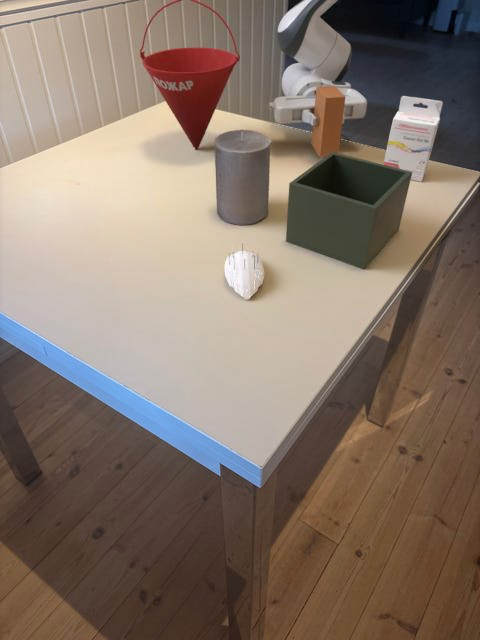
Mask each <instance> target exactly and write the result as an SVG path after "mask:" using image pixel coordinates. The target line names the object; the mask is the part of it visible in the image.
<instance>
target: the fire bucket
mask: <svg viewBox="0 0 480 640" xmlns="http://www.w3.org/2000/svg"><path fill="white" fill-rule="evenodd" d="M182 1H183V0H174V1H171V2H169V3H167V4H165V5H163V6H162V7H161V8H160V9H158V10H157V11H156V12H155V13H154V14H153V16H152V17H151V18H150V20H149V21H148V23H147V26H146V28H145V31H144V33H143V39H142V44H141V45H142V46H141V48H140V50H139V56H140V58H141V60H142V62H141V64H142V65H143V67H144V68H145V70H146V71H147V73H148V75H149V76H150V79H152V81H153V83H154V84H155V86H156V88H157V90H158V91H159V93H160V95H161V96H162V97H163V100H164V101H165V102H166V104H167V106H168V108H169V109H170V111H171V112H172V114H173V116H174V117H175V119H176V121H177V122H178V124H179V126H180V127H181V129H182V131H183V132H184V134H185V135H186V137H187V139H188V141H189V142H190V144H191V145H192V147H193V148H194V149H195V150H198V149H199V147H200V145H201V143H202V142H203V139H204V136H205V134H206V132H207V130H208V128H209V125H210V123H211V120H212V118H213V116H214V113H215V111H216V109H217V107H218V105H219V103H220V100H221V97H222V95H223V93H224V90H225V88H226V86H227V84H228V81H229V79H230V77H231V74H232V72H233V70H234V68H235V66H236V64H237V63H238V62H240V60H241V56H240V53H239V52H238V49H237V45H236V41H235V39H234V35H233V33H232V31H231V29H230V27H229V26H228V24H227V22H226V20H224V18H223V17H222V16H221V15H220V14H219V13H218V12H217V11H216V10H214V9H213V8H212V7H210V6H209V5H207V4H205V3H203V2H200V1H198V0H190V1H191V2H194V3H196V4H198V5H200V6H203V7H205V8H206V9H208V10H209V11H211V12H212V13H214V14H216V16H217V17H218V18H219V19H220V20H221V21H222V22H223V24H224V25H225V27H226V29H227V31H228V32H229V34H230V38H231V40H232V43H233V46H234V50H235V53H236V55H237V56H236V55H235V54H234V53H232V52H231V51H227V50H223V49H219V48H212V47H198V46H197V47H194V46H193V47H179V48H171V49H165V50H161V51H157V52H153V53H150V54H148V55H146V56H145V53H146V51H143V50H144V47H145V41H146V36H147V33H148V30H149V27H150V25H151V23H152V22H153V20H154V18H155V17H156V16H157V15H158V14H159V13H160V12H162V11H163V10H164V9H165V8H167V7H169V6H171V5H174V4H177V3H179V2H182Z"/></svg>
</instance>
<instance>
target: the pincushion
mask: <svg viewBox="0 0 480 640" xmlns="http://www.w3.org/2000/svg"><path fill="white" fill-rule="evenodd" d="M241 245H242V250H238V251H236V252H235V253H232V254H229V255H228V256H227V257H226V259H225V262H224V266H223V267H224V277H225V278H226V282H227V283H228V286H229V287H231V288H233V289H234V291H235V293H237V294H238V295H240V296H241V297H242V298H243V299H244V300H250V299H251V297H253V295H254V294H255V293H256V292H258V290H259V287H261V285H262V286H263V284H264V283H263V282H264V276H265V267H264V264H263V261H262V259H261V257H259V255H258V254H255V253H254V252H248V251H246V250H244V246H243V245H244V243H242V244H241Z"/></svg>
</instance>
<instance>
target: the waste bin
mask: <svg viewBox="0 0 480 640" xmlns="http://www.w3.org/2000/svg"><path fill="white" fill-rule="evenodd" d="M411 176H412V172H410V171H406V170H402V169H398V168H394V167H391V166H387V165H384V163H383V164H382V163H379V162H374V161H370V160H368V159H367V160H366V159H362V158H359V157H354V156H351V155H347V154H342V153H339V152H338V153H335V152H331V153H330V154H328V155H327V156H326V157H322V158H321V159H320V160H319V161H317V162H316V163H315V164H313V165H311V167H309V168H308V169H307V170H305V171H304V172H303V173H301V174H299V175H298V176H297V177H296V178H294V179H293V180H292V181H290V182H289V183H288V202H287V214H286V215H287V217H286V218H287V219H286V233H285V242H287V243H289V244H292V245H295V246H298V247H300V248H303V249H306V250H309V251H311V252H315V253H318V254H320V255H322V256H326V257H329V258H331V259H333V260H336V261H340V262H342V263H345V264H348V265H350V266H354V267H356V268H359V269H362V270H365V269H367V267H368V266H369V264H370V263H371V262H372V261H373V260H374V259H375V258H376V256H377V255H379V253H380V252H381V250H383V248H384V247H385V246H386V245H387V244H388V243H389V241H390V240H391V239H392V238H393V237H394V236H395V235H396V233H398V231H399V229H400V226H401V222H402V219H403V213H404V209H405V205H406V202H407V197H408V192H409V189H410V184H411V181H412V180H411Z"/></svg>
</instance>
